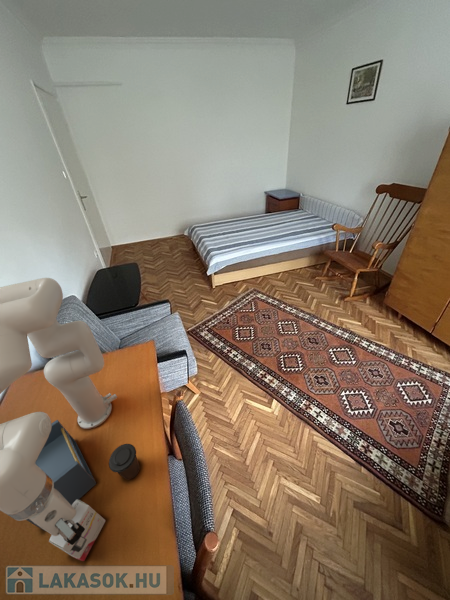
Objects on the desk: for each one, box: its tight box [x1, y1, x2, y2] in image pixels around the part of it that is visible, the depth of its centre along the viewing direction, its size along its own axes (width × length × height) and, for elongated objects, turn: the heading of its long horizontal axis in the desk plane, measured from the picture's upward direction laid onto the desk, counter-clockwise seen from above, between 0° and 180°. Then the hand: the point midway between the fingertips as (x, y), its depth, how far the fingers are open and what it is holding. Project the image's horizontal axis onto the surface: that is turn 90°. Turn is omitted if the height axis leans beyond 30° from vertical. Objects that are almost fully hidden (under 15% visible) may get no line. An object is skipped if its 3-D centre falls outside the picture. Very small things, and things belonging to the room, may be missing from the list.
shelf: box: [25, 419, 97, 531], centre depth 74 cm, size 15×20×14 cm
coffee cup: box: [108, 443, 141, 481], centre depth 76 cm, size 8×8×10 cm
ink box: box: [48, 499, 106, 562], centre depth 62 cm, size 9×5×12 cm, turn 162°
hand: (67, 522), depth 58 cm, fingers open, 9 cm apart
